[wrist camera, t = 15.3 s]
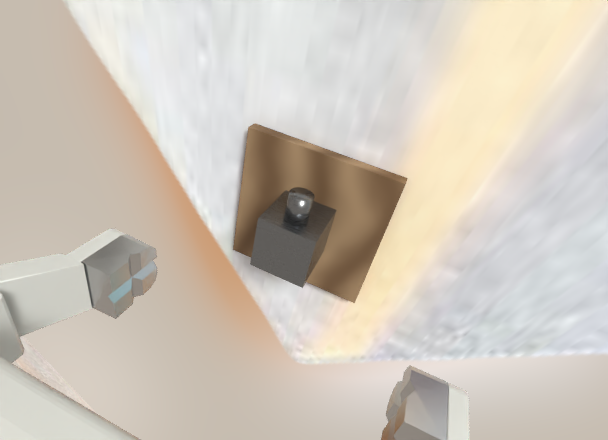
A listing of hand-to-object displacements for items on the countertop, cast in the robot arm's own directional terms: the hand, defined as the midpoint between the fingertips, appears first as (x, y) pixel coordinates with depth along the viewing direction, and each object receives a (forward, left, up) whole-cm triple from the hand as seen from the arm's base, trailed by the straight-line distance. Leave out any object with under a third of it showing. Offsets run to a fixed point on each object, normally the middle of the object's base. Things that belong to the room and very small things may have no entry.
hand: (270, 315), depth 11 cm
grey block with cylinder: (-6, -14, -28) cm, 32 cm away
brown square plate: (-6, -16, -29) cm, 34 cm away
